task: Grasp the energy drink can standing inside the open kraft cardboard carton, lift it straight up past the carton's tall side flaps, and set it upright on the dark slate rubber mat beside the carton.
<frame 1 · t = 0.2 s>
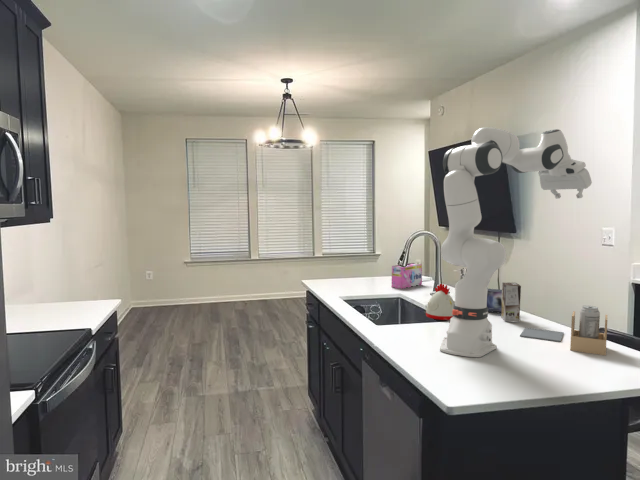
hand: (568, 197, 192), 54 cm above the worktop, tool tilted 30°, fingers open, 8 cm apart
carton: (588, 348, 164), on the worktop
coffee box: (510, 320, 207), on the worktop
small box: (494, 312, 222), on the worktop
kitchen timer: (441, 316, 213), on the worktop
gum box: (406, 286, 294), on the worktop
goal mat: (542, 334, 182), on the worktop
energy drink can: (588, 349, 164), resting in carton
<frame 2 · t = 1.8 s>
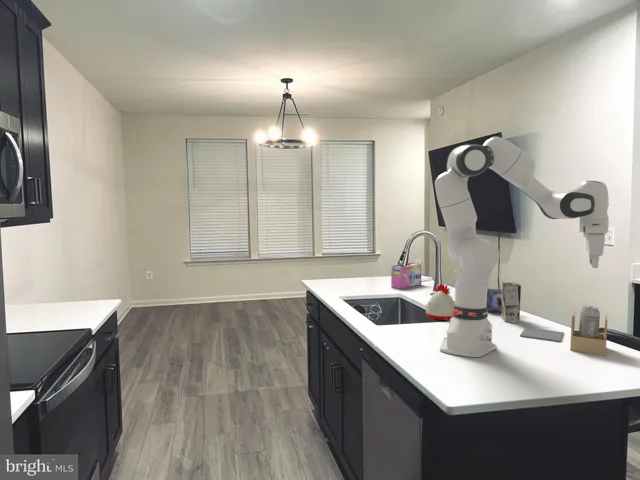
hand: (593, 266, 165), 29 cm above the worktop, tool pointing down, fingers open, 8 cm apart
nothing on the worktop moved.
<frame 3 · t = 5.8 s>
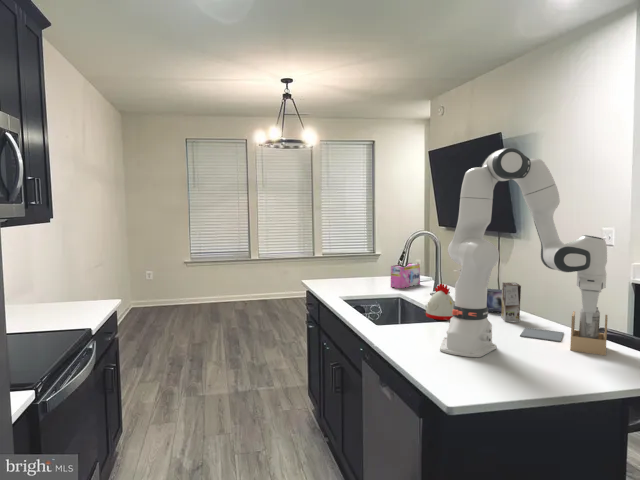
hand: (589, 320, 163), 10 cm above the worktop, tool pointing down, fingers closed on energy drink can, 6 cm apart
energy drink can: (588, 349, 164), resting in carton, touching gripper
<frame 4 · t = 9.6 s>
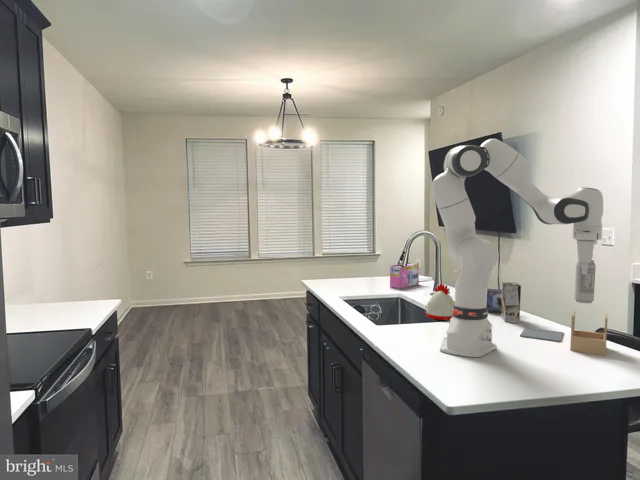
hand: (585, 273, 164), 27 cm above the worktop, tool pointing down, fingers closed on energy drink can, 6 cm apart
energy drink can: (583, 302, 165), point 16 cm above the worktop, touching gripper
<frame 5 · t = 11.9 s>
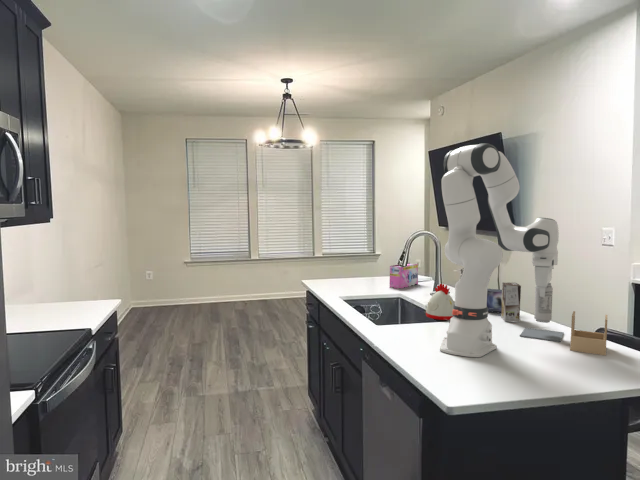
hand: (543, 295, 181), 16 cm above the worktop, tool pointing down, fingers closed on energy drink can, 6 cm apart
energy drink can: (542, 321, 181), point 5 cm above the worktop, touching gripper
when the fingers open (12 cm above the worktop, at t = 13.7 s): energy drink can stays where it is, resting on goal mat.
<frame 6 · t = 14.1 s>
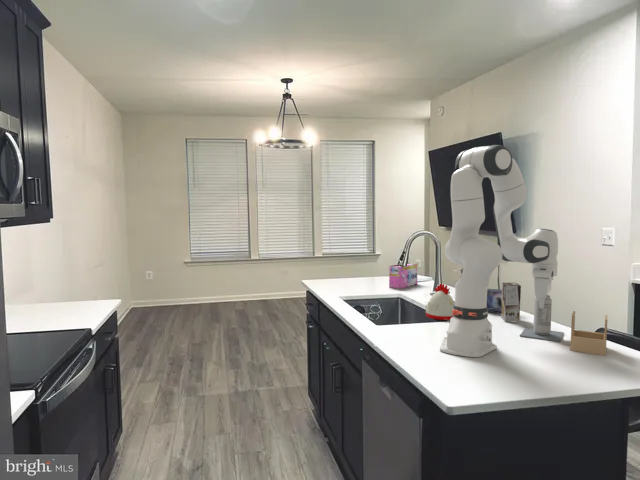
hand: (543, 305, 181), 12 cm above the worktop, tool pointing down, fingers open, 8 cm apart
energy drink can: (541, 334, 182), resting on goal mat
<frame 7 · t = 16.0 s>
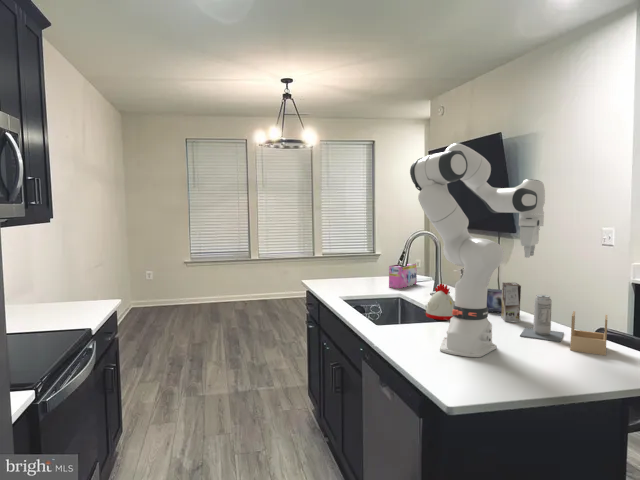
hand: (529, 256, 183), 31 cm above the worktop, tool pointing down, fingers open, 8 cm apart
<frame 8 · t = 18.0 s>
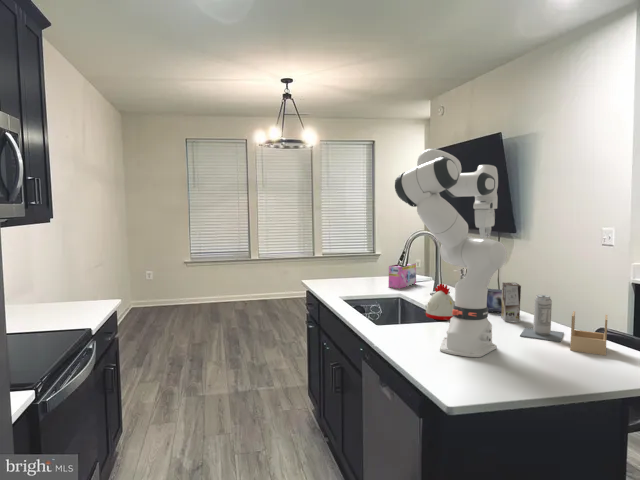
hand: (485, 238, 193), 37 cm above the worktop, tool pointing down, fingers open, 8 cm apart
at the end: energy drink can inside the target area on the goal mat (0.2 cm from its centre), point 0.3 cm above the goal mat's base; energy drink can tilted 0°; the gripper is holding nothing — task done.
